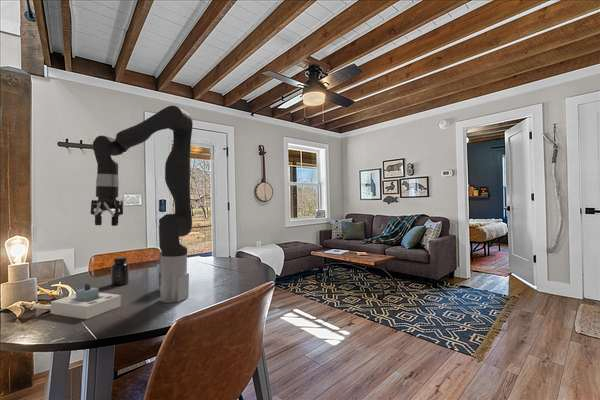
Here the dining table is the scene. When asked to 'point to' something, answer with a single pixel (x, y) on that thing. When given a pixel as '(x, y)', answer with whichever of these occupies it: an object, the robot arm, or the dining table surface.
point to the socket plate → (85, 306)
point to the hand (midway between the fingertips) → (106, 225)
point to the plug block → (87, 294)
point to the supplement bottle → (120, 272)
